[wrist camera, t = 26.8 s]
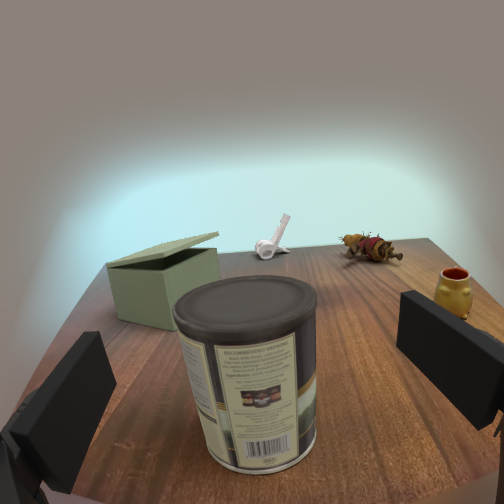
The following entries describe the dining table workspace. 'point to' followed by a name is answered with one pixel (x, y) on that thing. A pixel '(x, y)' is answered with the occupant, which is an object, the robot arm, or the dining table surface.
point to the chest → (160, 285)
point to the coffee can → (252, 368)
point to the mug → (454, 291)
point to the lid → (162, 250)
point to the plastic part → (272, 241)
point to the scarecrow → (370, 247)
